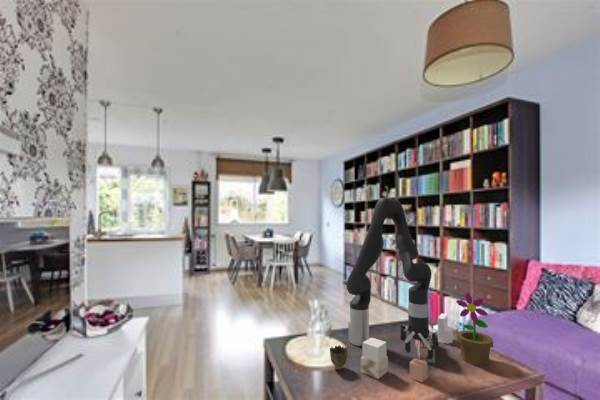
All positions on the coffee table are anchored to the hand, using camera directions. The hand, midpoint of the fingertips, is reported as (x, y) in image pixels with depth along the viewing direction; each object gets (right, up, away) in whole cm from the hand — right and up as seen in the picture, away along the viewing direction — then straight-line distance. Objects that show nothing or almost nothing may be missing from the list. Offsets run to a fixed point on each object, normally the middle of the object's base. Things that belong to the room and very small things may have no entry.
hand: (419, 355), depth 125 cm
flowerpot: (+30, -9, +14) cm, 34 cm away
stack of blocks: (+11, -10, +23) cm, 27 cm away
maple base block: (-17, -9, +4) cm, 19 cm away
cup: (-31, -9, +7) cm, 33 cm away
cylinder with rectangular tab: (+26, -10, +36) cm, 45 cm away
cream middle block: (-17, -3, +4) cm, 17 cm away
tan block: (0, -9, 0) cm, 9 cm away
